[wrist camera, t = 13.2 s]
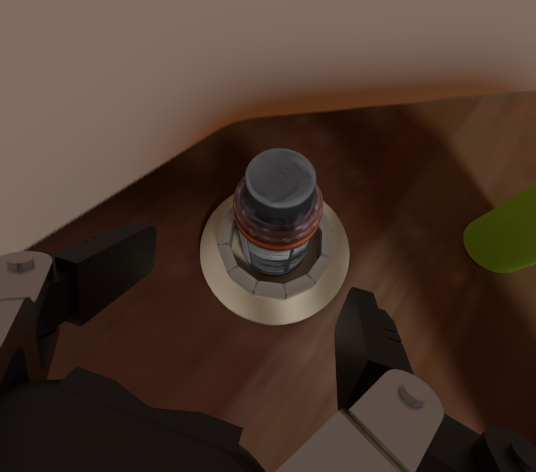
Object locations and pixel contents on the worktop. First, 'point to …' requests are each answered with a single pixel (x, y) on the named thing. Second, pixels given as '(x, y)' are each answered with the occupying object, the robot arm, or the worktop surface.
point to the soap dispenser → (505, 234)
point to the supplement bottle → (277, 210)
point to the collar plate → (273, 287)
